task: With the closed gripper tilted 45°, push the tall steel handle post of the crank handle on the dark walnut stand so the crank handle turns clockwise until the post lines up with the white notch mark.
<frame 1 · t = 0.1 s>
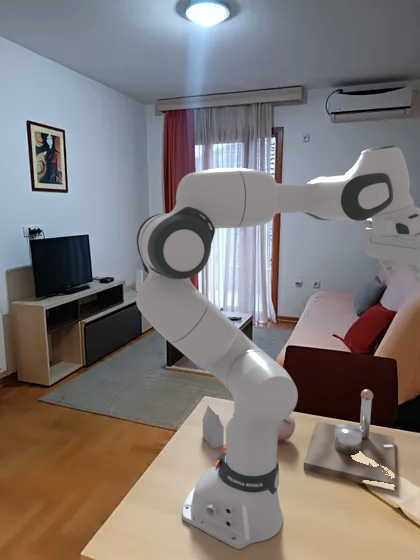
hand: (405, 278, 92), 52 cm above the table, tool tilted 20°, fingers open, 8 cm apart
notch mark: (387, 453, 114), resting on stand
stand: (350, 455, 113), on the table
crank handle: (347, 454, 113), resting on stand, hinge at 0.0°
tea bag: (213, 441, 120), on the table
skincare box: (246, 418, 133), on the table
decorative fruit: (279, 440, 121), on the table
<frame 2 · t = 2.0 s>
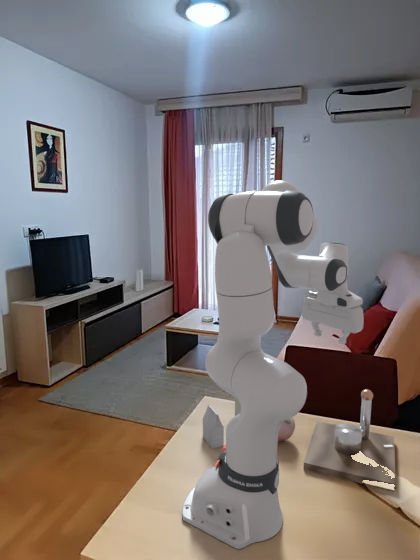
hand: (329, 339, 126), 27 cm above the table, tool pointing down, fingers open, 8 cm apart
nothing on the table moved.
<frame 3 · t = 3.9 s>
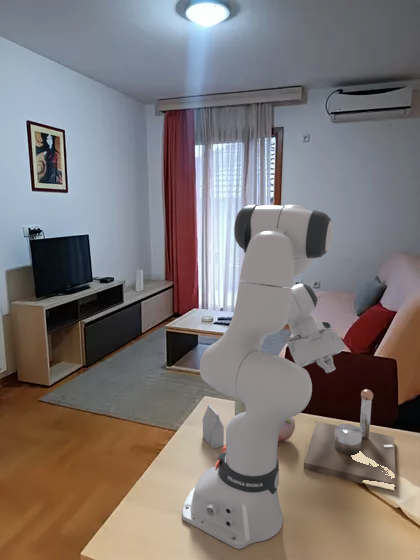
hand: (331, 371, 124), 18 cm above the table, tool tilted 45°, fingers closed
nothing on the table moved.
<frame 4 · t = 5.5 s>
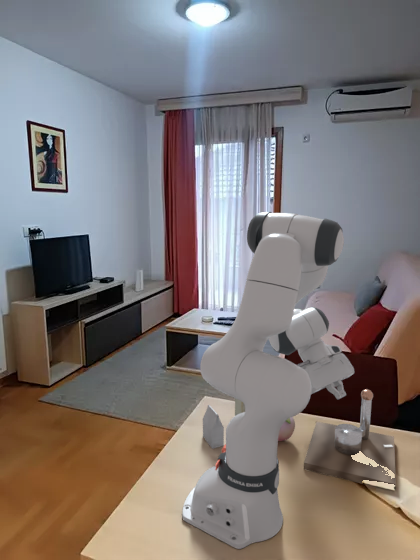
hand: (342, 397, 122), 11 cm above the table, tool tilted 45°, fingers closed
nothing on the table moved.
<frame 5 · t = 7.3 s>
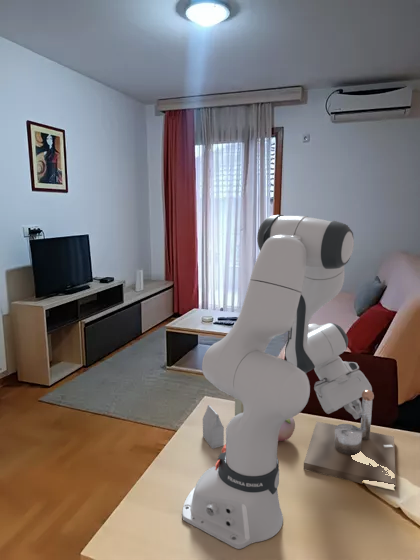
hand: (360, 417, 118), 8 cm above the table, tool tilted 45°, fingers closed, pressing on crank handle
crank handle: (347, 454, 113), resting on stand, hinge at -1.8°, touching gripper
everything else where it was.
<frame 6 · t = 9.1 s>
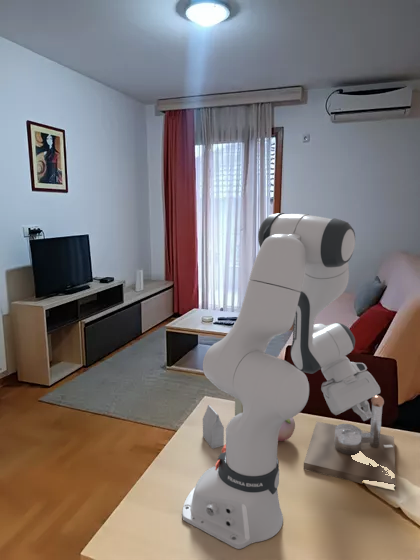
hand: (368, 418, 116), 9 cm above the table, tool tilted 45°, fingers closed
crank handle: (347, 454, 113), resting on stand, hinge at -28.6°
everything else where it was.
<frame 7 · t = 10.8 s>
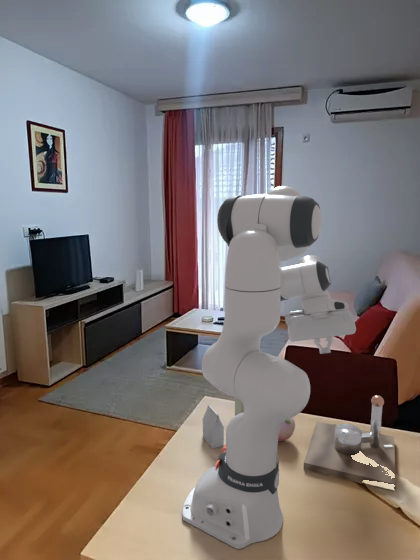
hand: (325, 353, 123), 24 cm above the table, tool tilted 25°, fingers closed
nothing on the table moved.
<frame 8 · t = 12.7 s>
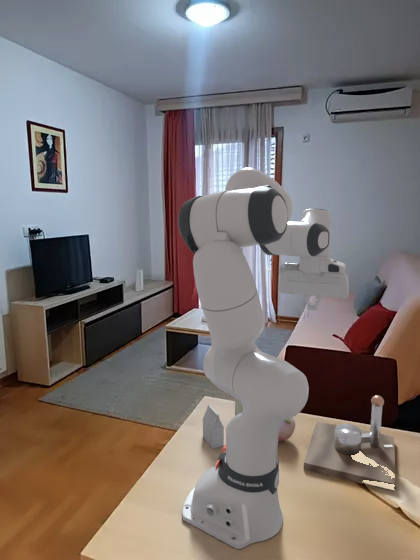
hand: (312, 309, 123), 37 cm above the table, tool pointing down, fingers closed
nothing on the table moved.
at the end: crank handle at -29° (first picture: +0°); decorative fruit moved 0.2 cm from its start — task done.
